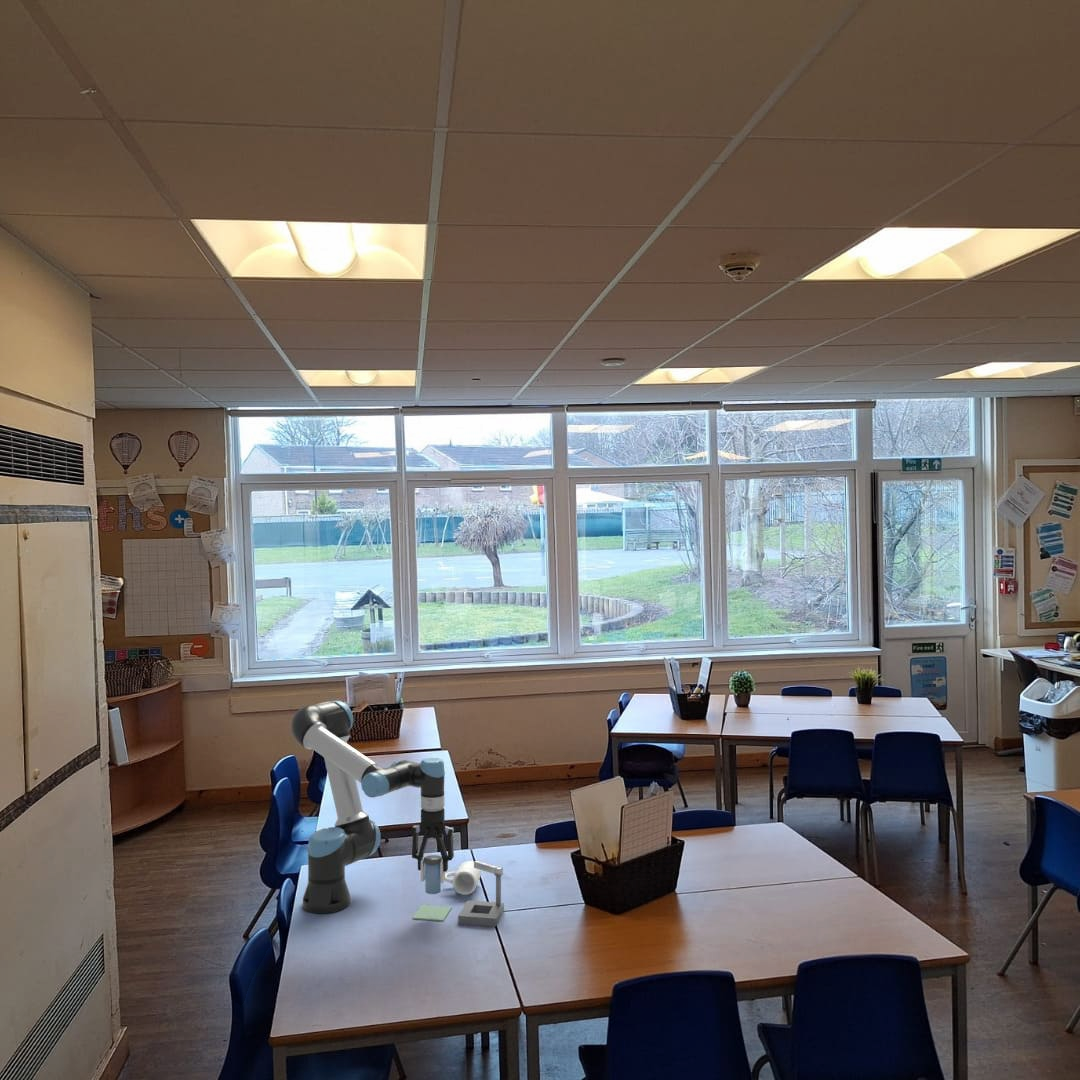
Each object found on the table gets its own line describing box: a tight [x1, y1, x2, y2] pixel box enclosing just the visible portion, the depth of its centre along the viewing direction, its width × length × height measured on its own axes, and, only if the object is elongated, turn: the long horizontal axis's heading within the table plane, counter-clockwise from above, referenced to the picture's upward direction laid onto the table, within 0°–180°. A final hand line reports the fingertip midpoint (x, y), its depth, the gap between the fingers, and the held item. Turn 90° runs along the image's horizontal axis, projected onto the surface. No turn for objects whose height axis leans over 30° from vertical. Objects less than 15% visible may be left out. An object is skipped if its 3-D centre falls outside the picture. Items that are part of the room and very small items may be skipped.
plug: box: [423, 854, 442, 895], centre depth 290 cm, size 6×6×10 cm
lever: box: [473, 860, 504, 877], centre depth 293 cm, size 11×3×2 cm, turn 52°
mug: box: [444, 860, 482, 896], centre depth 310 cm, size 12×10×8 cm
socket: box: [457, 875, 505, 928], centre depth 287 cm, size 12×12×12 cm
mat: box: [412, 904, 453, 922], centre depth 290 cm, size 10×10×1 cm
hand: (432, 880), depth 290 cm, fingers closed on plug, 6 cm apart
